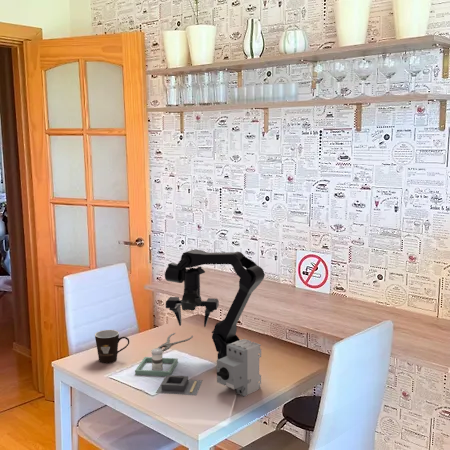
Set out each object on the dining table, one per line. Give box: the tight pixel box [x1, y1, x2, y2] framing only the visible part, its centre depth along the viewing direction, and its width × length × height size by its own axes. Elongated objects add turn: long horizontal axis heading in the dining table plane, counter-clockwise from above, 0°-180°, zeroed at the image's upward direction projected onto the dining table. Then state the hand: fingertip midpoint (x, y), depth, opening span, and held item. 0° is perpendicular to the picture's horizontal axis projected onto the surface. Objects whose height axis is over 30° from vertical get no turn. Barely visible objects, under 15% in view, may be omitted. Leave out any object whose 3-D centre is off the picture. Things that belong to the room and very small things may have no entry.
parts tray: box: [134, 356, 179, 377], centre depth 200 cm, size 12×12×2 cm
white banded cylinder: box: [151, 347, 164, 371], centre depth 199 cm, size 4×4×7 cm
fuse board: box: [155, 374, 203, 396], centre depth 186 cm, size 13×11×3 cm
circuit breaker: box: [215, 338, 262, 397], centre depth 183 cm, size 8×14×15 cm, turn 134°
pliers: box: [157, 332, 194, 352], centre depth 227 cm, size 10×1×20 cm
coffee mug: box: [94, 329, 130, 364], centre depth 209 cm, size 12×9×10 cm
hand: (192, 326), depth 210 cm, fingers open, 9 cm apart
